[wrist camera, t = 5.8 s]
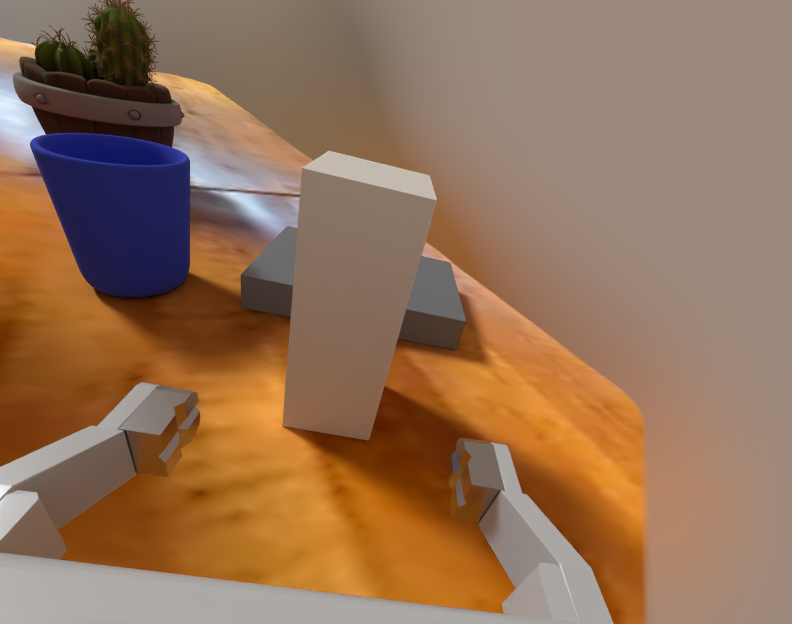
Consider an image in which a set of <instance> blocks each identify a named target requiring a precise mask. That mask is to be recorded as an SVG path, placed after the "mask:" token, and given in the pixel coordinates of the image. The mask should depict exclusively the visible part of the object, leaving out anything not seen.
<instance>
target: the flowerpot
mask: <svg viewBox="0 0 792 624" xmlns="http://www.w3.org/2000/svg"><path fill="white" fill-rule="evenodd" d="M104 1H105V0H104ZM106 1H107V2H105V3H106V6H107V8H105V9H104V10H102V7H101V12H99V11H100V10H99V11H98V8H97V9H96V8H95V7H93V8H94V9H96V10H97V12H96V13H93V14H91V15H94V14H96V15H98V16H97V17H96V18H95V19H94V20H91V19H92V18H91V17H90V18H91V19H90V20H89V19H87V20H89V21H92V22H91V23H92V24H94V26H95V28H94V27H93V25H92V27H93V28H94V29H95V31H96V32H95V31H94V30H93V29H92V28H91V29H92V30H93V31H94V32H93V31H91V32H92V33H94V35H96V39H94V41H93V42H94V43H93V42H91V43H93V44H91V45H92V46H94V45H95V46H97V49H98V50H96V47H95V48H93V49H90V48H89V51H88V49H87V47H86V49H87V52H90V53H89V55H88V56H87V55H86V56H85V55H84V54H83V53H82V52H80V51H79V49H76V48H74V47H75V46H73V45H74V44H75V43H73V42H70V39H69V37H68V39H69V43H68V44H67V42H66V43H64V41H63V42H62V41H61V39H60V33H61V31H62V30H63V29H62V30H61V31H60V30H59V32H58V33H59V35H58V33H57V31H55V32H56V34H57V35H56V36H55V37H54V38H52V37H51V39H52V41H50V40H49V39H48V38H47V37H46V38H47V39H48V40H49V41H46V42H43V43H41V44H39V45H38V41H39V39H40V37H39V38H38V39H37V43H36V45H35V44H34V45H35V46H36V47H37V48H36V49H35V57H36V59H33V58H29V57H20V68H21V72H18V73H15V74H14V75H13V83H14V88H15V91H16V93H17V95H18V97H19V98H20V100H21V101H23V102H24V103H26V104H28V105H30V106H32V108H33V110H34V112H35V114H36V117H37V118H38V120H39V122H40V124H41V126H42V128H43V130H44V131H45V133H46V135H48V134H57V133H89V134H103V135H113V136H121V137H128V138H134V139H140V140H145V141H150V142H154V143H158V144H162V145H166V146H169V147H172V143H173V136H174V126H177V125H180V124H181V121H182V118H183V117H184V114H183V113H182V112H181V108H180V105H179V104H178V103H177V102H176V101H174V100H172V99H171V96H170V92H169V90H168V89H167V88H166V87H165V86H162V85H159V84H155V83H153V82H152V80H151V79H150V76H149V78H148V73H149V74H150V73H151V69H150V68H148V67H149V65H150V62H152V60H153V59H154V58H153V59H151V58H150V56H151V55H150V54H149V53H151V54H152V52H150V51H153V50H152V49H153V48H152V49H149V46H150V43H152V42H156V41H151V40H153V39H154V38H155V37H154V38H152V39H150V38H149V37H148V36H147V34H148V33H147V34H146V32H145V31H146V29H147V28H148V29H149V27H150V26H149V27H147V28H146V27H145V26H146V25H145V26H142V24H141V23H140V22H139V21H138V20H137V19H136V16H139V14H137V15H135V13H136V11H137V10H138V9H137V10H136V11H134V12H133V9H131V8H130V10H129V5H127V7H126V6H125V5H126V4H129V3H132V2H129V1H130V0H128V1H125V2H124V3H122V4H121V0H118V2H119V3H118V2H117V1H116V0H115V1H116V2H117V4H116V2H114V0H112V1H111V0H110V1H109V0H106ZM108 1H109V2H110V5H109V3H108ZM131 1H132V0H131ZM100 2H101V1H100ZM126 2H127V3H126ZM103 3H104V2H103ZM114 3H115V4H114ZM113 4H114V5H113ZM117 5H118V6H117ZM124 6H125V7H124ZM127 8H128V11H127ZM90 9H91V8H90ZM94 9H92V10H93V11H94ZM130 11H131V12H130ZM133 13H134V14H133ZM89 16H90V15H89ZM137 18H138V17H137ZM143 23H144V22H143ZM89 24H90V23H88V25H89ZM146 24H147V22H146ZM86 25H87V24H86ZM50 27H51V26H50ZM150 30H151V29H150ZM88 31H89V30H88ZM43 32H44V31H43ZM89 32H90V31H89ZM46 34H48V33H46ZM48 35H49V34H48ZM94 35H93V36H94ZM43 36H44V35H43ZM49 36H50V35H49ZM57 36H58V38H59V41H56V40H55V38H56V37H57ZM67 36H68V34H67ZM89 37H90V36H89ZM63 38H64V37H63ZM90 38H91V37H90ZM92 38H93V37H92ZM64 40H65V38H64ZM91 40H92V39H91ZM95 40H96V42H95ZM157 42H158V41H157ZM71 43H73V44H72V45H71ZM89 43H90V42H89ZM32 44H33V43H32ZM69 44H70V45H69ZM153 44H154V43H153ZM92 46H91V47H92ZM154 47H155V46H154ZM84 51H85V50H84ZM153 52H154V51H153ZM155 52H156V51H155ZM85 54H86V53H85ZM156 54H157V53H156ZM154 57H156V56H154ZM153 62H155V61H153ZM153 62H152V63H153ZM151 67H152V66H151ZM152 70H153V69H152ZM148 71H149V72H148ZM153 72H154V71H152V73H153ZM154 74H155V73H154ZM150 75H151V74H150ZM155 75H156V74H155ZM152 76H153V75H151V78H152ZM153 79H154V78H153ZM150 80H151V81H150ZM148 81H150V82H152V83H148ZM155 82H157V81H155Z"/></svg>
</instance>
